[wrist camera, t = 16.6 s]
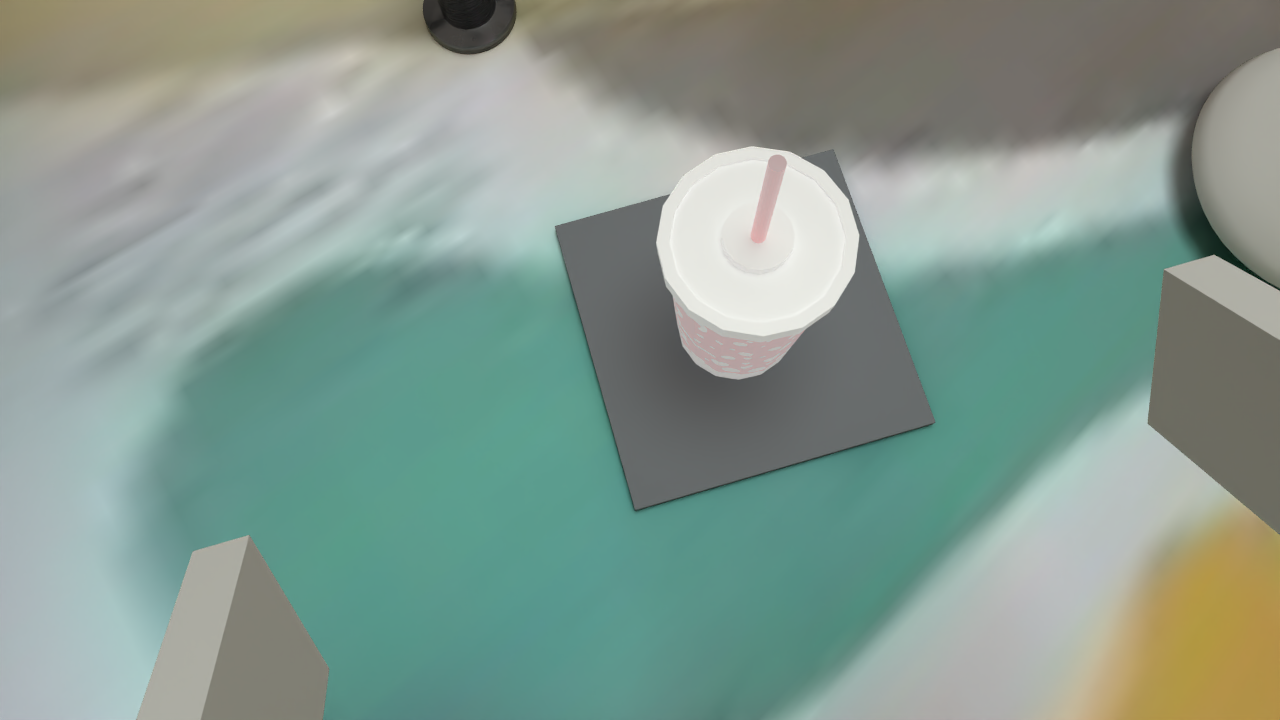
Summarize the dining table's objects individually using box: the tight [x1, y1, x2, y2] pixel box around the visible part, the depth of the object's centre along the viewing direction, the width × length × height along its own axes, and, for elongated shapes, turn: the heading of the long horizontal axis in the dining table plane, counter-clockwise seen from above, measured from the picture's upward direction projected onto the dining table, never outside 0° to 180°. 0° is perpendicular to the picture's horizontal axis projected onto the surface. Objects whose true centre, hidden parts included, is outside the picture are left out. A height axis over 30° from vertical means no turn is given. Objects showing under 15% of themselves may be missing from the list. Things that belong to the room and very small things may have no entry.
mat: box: [555, 149, 935, 511], centre depth 37 cm, size 12×12×1 cm
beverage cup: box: [656, 146, 859, 380], centre depth 30 cm, size 6×6×14 cm
